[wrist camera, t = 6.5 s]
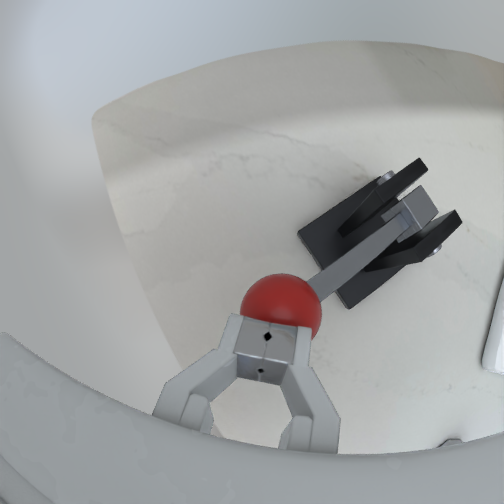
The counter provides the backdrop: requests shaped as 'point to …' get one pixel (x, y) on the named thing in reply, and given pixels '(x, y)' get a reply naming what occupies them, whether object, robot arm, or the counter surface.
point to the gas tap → (365, 223)
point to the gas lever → (334, 269)
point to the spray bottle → (496, 339)
